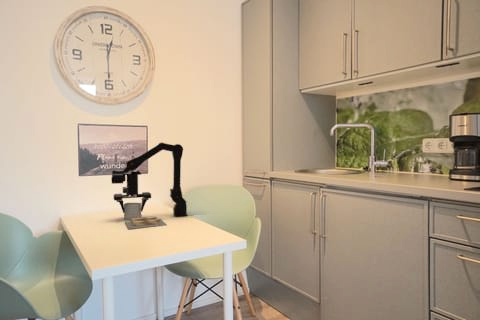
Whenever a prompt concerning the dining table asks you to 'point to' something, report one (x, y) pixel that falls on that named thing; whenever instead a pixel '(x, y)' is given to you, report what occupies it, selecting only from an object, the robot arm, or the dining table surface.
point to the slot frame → (145, 221)
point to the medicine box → (132, 211)
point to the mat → (130, 226)
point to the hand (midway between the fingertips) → (132, 212)
